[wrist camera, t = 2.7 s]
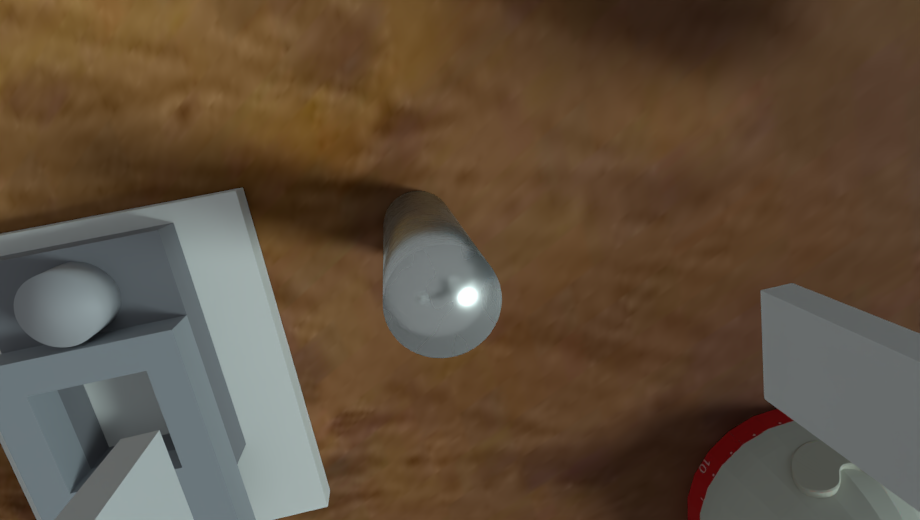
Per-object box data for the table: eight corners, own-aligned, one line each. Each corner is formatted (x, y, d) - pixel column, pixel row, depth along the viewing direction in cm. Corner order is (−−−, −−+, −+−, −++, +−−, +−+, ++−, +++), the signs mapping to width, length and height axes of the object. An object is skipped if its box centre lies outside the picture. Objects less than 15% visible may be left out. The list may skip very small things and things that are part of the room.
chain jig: (-66, 246, 28) (-192, 281, 22) (242, 187, 30) (205, 205, 23) (74, 552, 34) (4, 649, 28) (329, 490, 35) (318, 570, 29)
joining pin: (376, 198, 31) (371, 258, 17) (445, 184, 31) (491, 233, 18) (391, 264, 32) (396, 369, 19) (457, 250, 32) (509, 343, 19)
